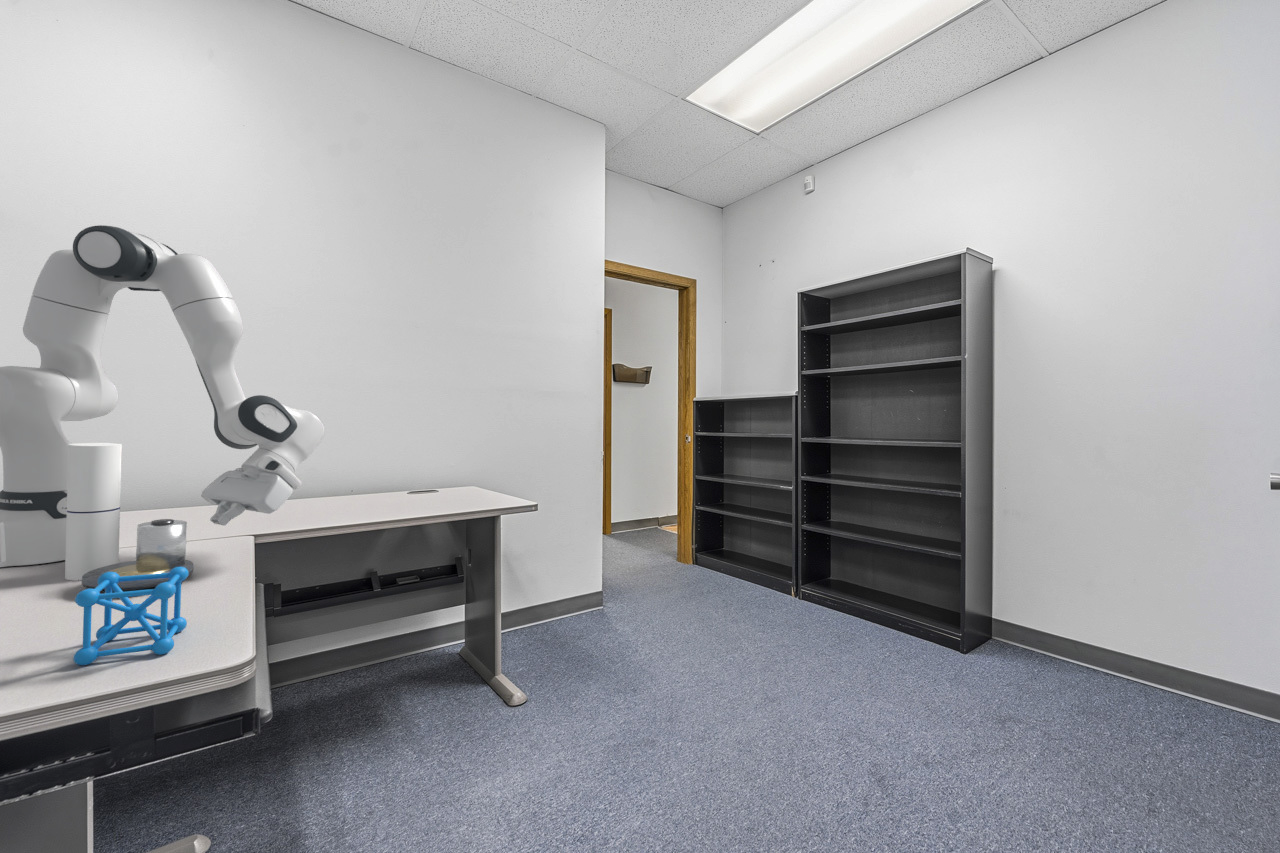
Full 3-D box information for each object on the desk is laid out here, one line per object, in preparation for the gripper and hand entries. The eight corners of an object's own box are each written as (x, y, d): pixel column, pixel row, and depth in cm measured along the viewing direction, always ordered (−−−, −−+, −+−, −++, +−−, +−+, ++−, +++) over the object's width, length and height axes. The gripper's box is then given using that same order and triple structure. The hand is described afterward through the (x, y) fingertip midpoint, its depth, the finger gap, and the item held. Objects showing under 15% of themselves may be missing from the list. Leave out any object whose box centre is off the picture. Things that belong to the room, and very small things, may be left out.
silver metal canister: (125, 569, 99) (126, 522, 98) (163, 559, 106) (165, 515, 105) (158, 572, 98) (159, 526, 98) (195, 562, 105) (196, 518, 105)
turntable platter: (56, 585, 92) (57, 578, 92) (147, 561, 107) (147, 555, 107) (132, 594, 90) (132, 586, 90) (213, 568, 105) (214, 562, 105)
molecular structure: (171, 656, 74) (174, 584, 73) (69, 670, 69) (71, 592, 68) (188, 628, 82) (190, 563, 82) (98, 639, 77) (101, 570, 77)
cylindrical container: (56, 582, 98) (60, 445, 97) (75, 570, 104) (78, 442, 103) (109, 578, 101) (113, 446, 100) (124, 567, 107) (128, 443, 107)
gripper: (224, 458, 121) (173, 508, 112) (288, 466, 113) (238, 519, 105) (245, 476, 125) (196, 525, 116) (307, 484, 118) (260, 537, 109)
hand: (216, 523), depth 110 cm, fingers closed
